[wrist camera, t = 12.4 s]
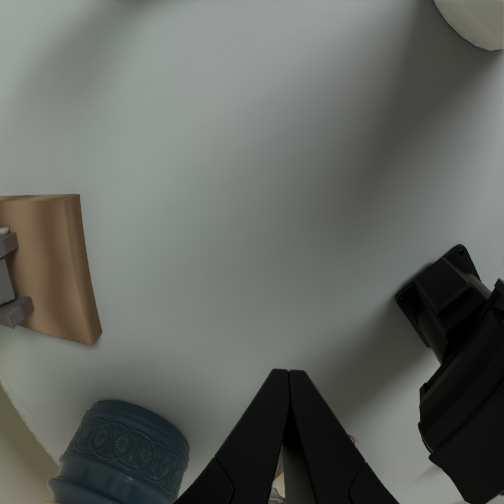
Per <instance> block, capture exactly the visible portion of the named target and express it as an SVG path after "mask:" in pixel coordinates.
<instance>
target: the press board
mask: <svg viewBox="0 0 504 504" xmlns="http://www.w3.org/2000/svg"><path fill="white" fill-rule="evenodd" d="M1 257H4V258H5V262H6V266H7V270H8V274H9V278H10V281H11V285H12V289H13V292H14V296H15V299H13V300H10V301H8V302H6V303H3V304H1V305H0V324H2V325H5V326H8V327H11V328H13V329H14V328H15V327H16V326H17V325H20V326H23V327H26V328H29V329H32V330H36V331H39V332H42V333H46V334H49V335H53V336H57V337H60V338H64V339H68V340H72V341H75V342H79V343H83V344H88V345H93V343H94V342H95V341H96V339H97V338H98V337H99V336H100V334H101V333H102V329H101V325H100V321H99V317H98V312H97V308H96V303H95V298H94V293H93V288H92V283H91V278H90V272H89V266H88V260H87V254H86V247H85V240H84V233H83V225H82V216H81V206H80V195H79V194H63V195H25V196H1V197H0V258H1Z"/></svg>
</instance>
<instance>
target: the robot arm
mask: <svg viewBox="0 0 504 504" xmlns="http://www.w3.org/2000/svg"><path fill="white" fill-rule="evenodd" d="M461 249H462V250H461ZM460 250H461V253H459V251H460ZM458 253H459V254H458ZM494 286H495V288H494V290H493V292H491V291H490V290H489V289H488V288H487V287H486V286H485V285H484V284H483V283H482V282H481V280H480V278H479V275H478V273H477V271H476V269H475V266H474V264H473V262H472V260H471V258H470V255H469V253H468V251H467V249H466V248H465V246H463V245H462V244H458V245H456V246H455V247H454V248H453V249H452V250H450V251H449V252H448V253H447V254H446V255H445V256H443V257H442V258H440V259H439V260H438V261H437V262H435V263H434V264H433V265H432V266H431V267H429V268H428V269H427V270H426V271H424V272H423V273H422V274H421V275H419V276H418V277H417V278H416V279H415V280H414V281H413V282H411V283H410V284H409V285H407V286H406V287H405V288H403V289H402V290H401V291H400V292H398V293H397V294H396V296H395V300H396V302H397V304H398V305H399V307H400V308H401V309H402V311H403V312H404V314H405V315H406V317H407V318H408V320H409V321H410V322H411V324H412V325H413V327H414V328H415V330H416V331H417V333H418V334H419V336H420V337H421V339H422V340H423V342H424V343H425V345H426V346H427V347H429V348H430V347H431V348H432V350H433V352H434V354H435V355H436V357H437V359H438V361H439V363H440V365H441V366H440V367H439V369H438V370H437V371H436V372H435V373H434V375H433V376H432V377H431V378H430V379H429V381H428V382H427V383H424V384H423V385H422V387H421V388H420V406H419V408H420V422H419V423H418V429H419V432H420V434H421V438H422V441H423V443H424V445H425V447H426V448H427V450H428V451H429V452H430V453H431V454H430V455H429V460H430V461H431V462H433V463H434V464H436V465H437V466H438V467H440V468H441V469H442V470H443V471H444V472H445V473H446V474H447V475H448V476H449V477H450V478H451V480H452V481H453V483H454V484H455V486H456V487H457V489H458V490H459V492H460V494H461V495H462V497H463V499H464V500H465V501H466V502H468V503H470V504H486V503H488V502H489V501H491V500H492V499H494V498H495V497H496V496H498V495H501V496H504V281H503V280H501V279H500V278H498V280H497V282H496V284H495V285H494ZM401 297H404V299H403V300H400V299H401ZM281 445H282V458H283V472H284V487H285V502H286V504H399V502H398V501H397V500H396V499H395V498H394V497H393V496H392V495H391V494H390V492H389V491H388V490H387V489H386V488H385V487H384V485H383V484H382V483H381V481H380V480H379V479H378V477H377V476H376V475H375V473H374V472H373V471H372V469H371V468H370V466H369V465H368V463H367V462H365V459H364V458H363V456H362V455H361V453H360V452H359V450H358V449H357V448H356V446H355V445H354V443H353V442H352V440H351V439H350V437H349V436H348V434H347V433H346V431H345V430H344V428H343V427H342V426H341V424H340V423H339V421H338V420H337V418H336V417H335V415H334V414H333V412H332V411H331V409H330V408H329V406H328V405H327V403H326V402H325V400H324V399H323V397H322V396H321V394H320V393H319V391H318V390H317V388H316V387H315V385H314V384H313V382H312V381H311V379H310V378H309V376H308V375H307V373H306V372H305V371H304V370H289V372H288V370H287V369H273V370H272V371H271V372H270V374H269V375H268V377H267V379H266V380H265V382H264V383H263V385H262V386H261V388H260V390H259V391H258V393H257V394H256V396H255V397H254V399H253V400H252V402H251V403H250V405H249V406H248V408H247V409H246V411H245V412H244V414H243V415H242V417H241V418H240V420H239V421H238V423H237V424H236V426H235V427H234V429H233V430H232V432H231V433H230V434H229V436H228V437H227V439H226V440H225V442H224V443H223V444H222V446H221V447H220V449H219V450H218V451H217V453H216V454H215V457H214V458H212V459H211V461H210V462H209V464H208V465H207V466H206V468H205V469H204V470H203V471H202V473H201V474H200V475H199V476H198V478H197V479H196V480H195V481H194V483H193V484H192V485H191V486H190V487H189V488H188V489H187V490H186V491H185V492H184V493H183V494H182V495H181V496H180V497H179V498H178V499H177V500H176V501H175V502H174V503H173V504H268V501H269V497H270V493H271V489H272V485H273V481H274V477H275V472H276V468H277V463H278V459H279V454H280V450H281ZM364 462H365V463H364Z"/></svg>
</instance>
